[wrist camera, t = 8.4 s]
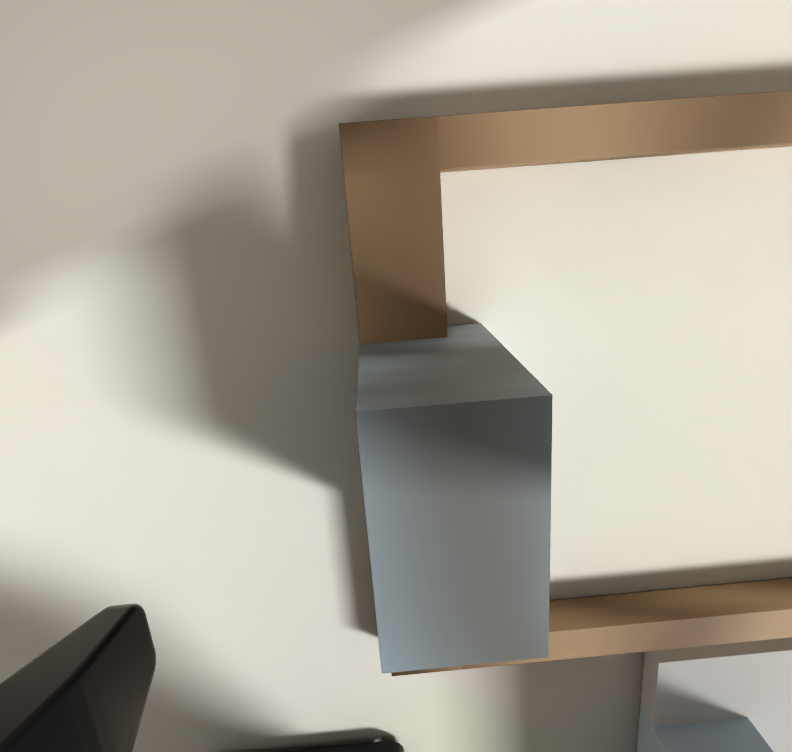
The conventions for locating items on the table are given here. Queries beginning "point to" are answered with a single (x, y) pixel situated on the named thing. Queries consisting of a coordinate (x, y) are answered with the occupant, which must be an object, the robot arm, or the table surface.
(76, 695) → the robot arm
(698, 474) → the table surface
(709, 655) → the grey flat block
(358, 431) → the wooden tray frame
